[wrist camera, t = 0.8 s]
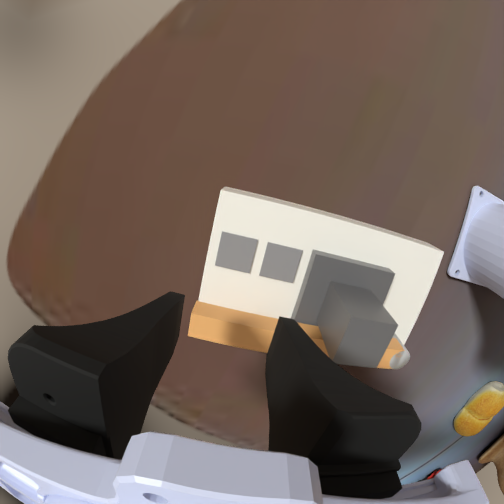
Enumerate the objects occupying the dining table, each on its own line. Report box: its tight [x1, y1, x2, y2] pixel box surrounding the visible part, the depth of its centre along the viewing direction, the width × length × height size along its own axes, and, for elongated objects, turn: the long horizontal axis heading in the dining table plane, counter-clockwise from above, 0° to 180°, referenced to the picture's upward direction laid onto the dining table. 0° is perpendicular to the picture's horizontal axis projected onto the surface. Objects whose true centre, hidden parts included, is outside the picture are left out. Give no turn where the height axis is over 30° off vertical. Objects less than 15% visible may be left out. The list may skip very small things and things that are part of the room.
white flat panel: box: [199, 187, 444, 345], centre depth 20 cm, size 16×10×3 cm, turn 77°
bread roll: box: [454, 381, 504, 436], centre depth 25 cm, size 8×9×4 cm
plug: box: [291, 249, 398, 368], centre depth 17 cm, size 6×6×8 cm
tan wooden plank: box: [188, 301, 410, 369], centre depth 18 cm, size 15×2×3 cm, turn 77°
